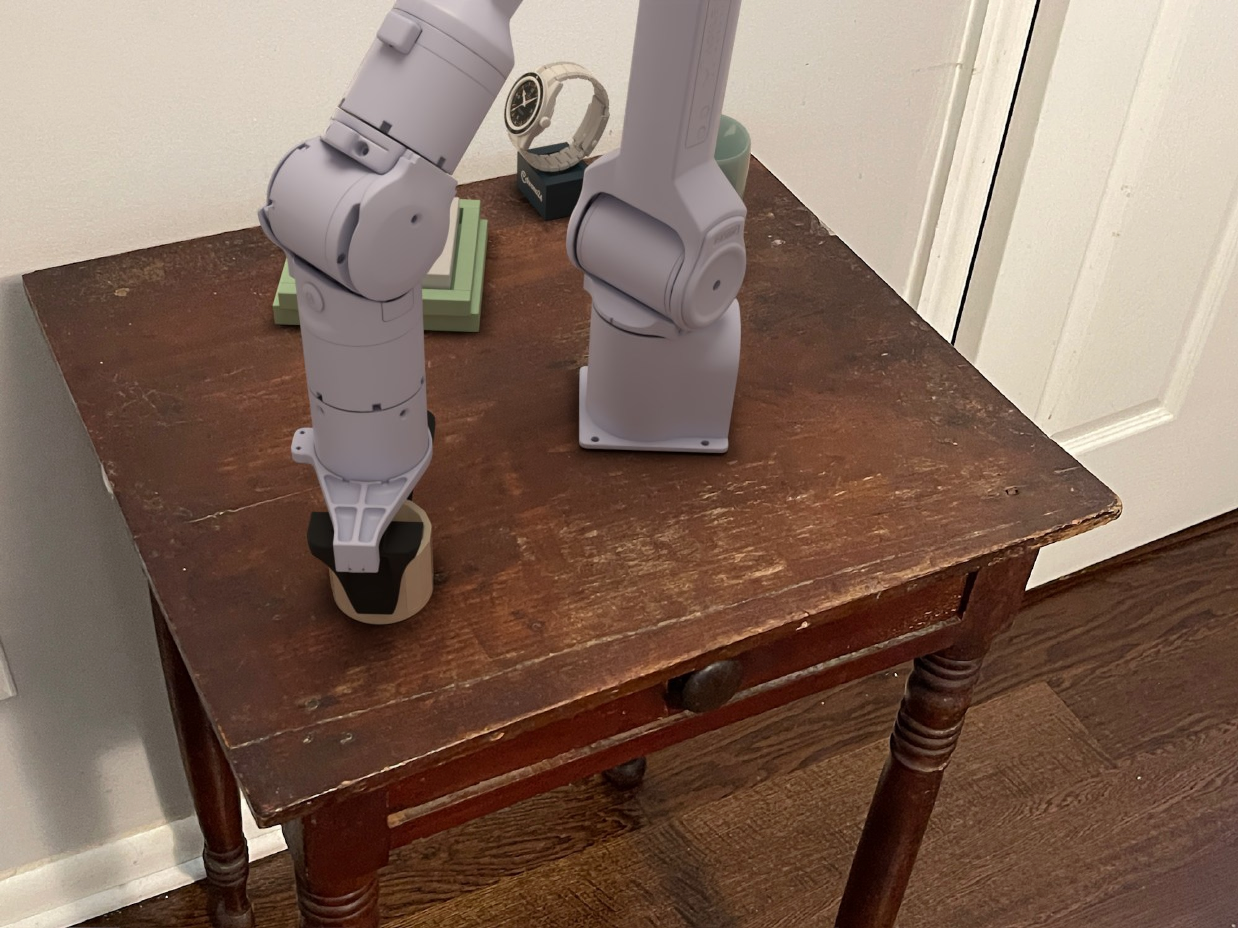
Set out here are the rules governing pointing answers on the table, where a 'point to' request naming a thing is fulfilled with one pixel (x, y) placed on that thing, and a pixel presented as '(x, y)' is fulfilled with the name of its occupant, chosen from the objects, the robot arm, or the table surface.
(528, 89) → the watch
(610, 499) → the table surface
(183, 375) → the table surface
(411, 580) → the cylindrical container
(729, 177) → the cup
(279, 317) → the scale
